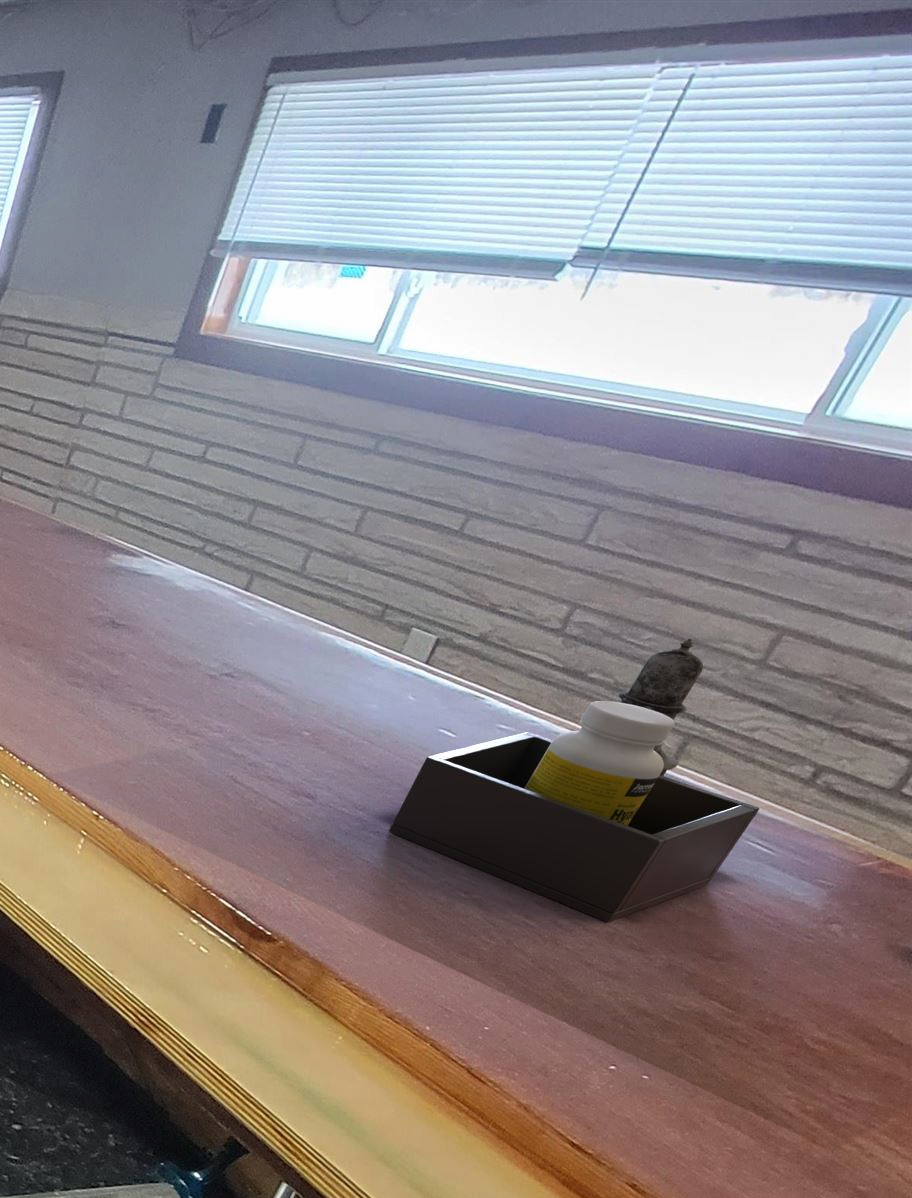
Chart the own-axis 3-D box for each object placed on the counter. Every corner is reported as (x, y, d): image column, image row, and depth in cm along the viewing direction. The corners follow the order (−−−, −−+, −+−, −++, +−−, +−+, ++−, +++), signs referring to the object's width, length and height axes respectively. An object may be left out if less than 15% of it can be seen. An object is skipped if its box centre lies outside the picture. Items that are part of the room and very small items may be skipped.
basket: (488, 803, 87) (528, 731, 85) (707, 885, 78) (760, 807, 75) (387, 831, 83) (426, 756, 80) (607, 922, 73) (660, 841, 70)
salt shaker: (607, 780, 92) (699, 628, 86) (671, 816, 87) (774, 656, 81) (525, 774, 92) (611, 622, 86) (584, 809, 87) (680, 650, 81)
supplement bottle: (593, 878, 76) (683, 736, 72) (487, 845, 80) (566, 707, 75) (610, 854, 80) (697, 716, 75) (507, 823, 83) (584, 689, 78)
